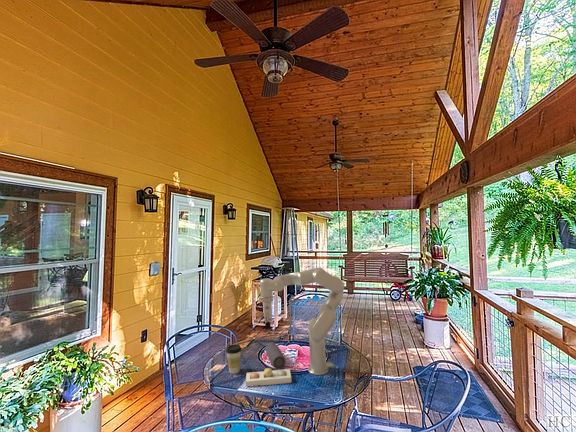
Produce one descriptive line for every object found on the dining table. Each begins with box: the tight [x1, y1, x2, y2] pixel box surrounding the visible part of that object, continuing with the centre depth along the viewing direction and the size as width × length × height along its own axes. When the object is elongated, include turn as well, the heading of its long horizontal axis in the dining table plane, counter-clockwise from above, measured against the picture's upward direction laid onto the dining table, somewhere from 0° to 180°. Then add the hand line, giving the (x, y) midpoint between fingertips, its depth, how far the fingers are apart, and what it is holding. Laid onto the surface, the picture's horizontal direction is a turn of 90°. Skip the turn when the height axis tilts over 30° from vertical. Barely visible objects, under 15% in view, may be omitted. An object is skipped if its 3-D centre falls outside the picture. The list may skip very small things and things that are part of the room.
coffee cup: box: [225, 344, 243, 375], centre depth 190 cm, size 10×10×15 cm
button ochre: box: [263, 367, 273, 377], centre depth 177 cm, size 4×4×3 cm
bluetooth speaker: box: [265, 342, 287, 370], centre depth 198 cm, size 23×9×10 cm, turn 16°
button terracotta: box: [251, 373, 259, 379], centre depth 176 cm, size 4×4×3 cm
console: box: [245, 368, 292, 387], centre depth 177 cm, size 26×10×3 cm, turn 95°
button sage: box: [278, 369, 286, 376], centre depth 178 cm, size 4×4×3 cm
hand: (268, 328), depth 186 cm, fingers closed
